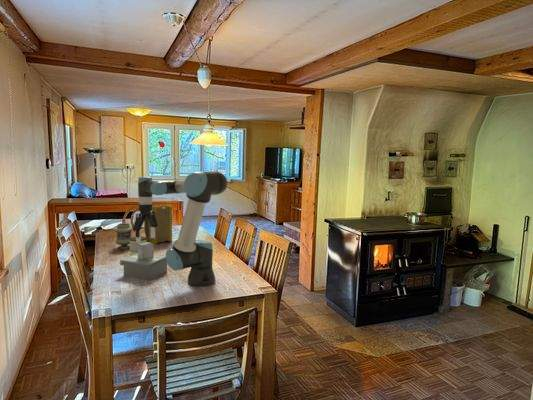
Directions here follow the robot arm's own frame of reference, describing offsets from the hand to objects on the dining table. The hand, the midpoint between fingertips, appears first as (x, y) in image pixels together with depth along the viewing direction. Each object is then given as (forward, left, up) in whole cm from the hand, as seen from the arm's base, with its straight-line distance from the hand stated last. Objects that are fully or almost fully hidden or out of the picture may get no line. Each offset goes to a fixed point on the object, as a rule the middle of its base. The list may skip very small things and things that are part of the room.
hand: (145, 240), depth 206 cm
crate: (0, 0, -20) cm, 20 cm away
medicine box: (0, 0, -11) cm, 11 cm away
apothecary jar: (+50, -44, -20) cm, 70 cm away
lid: (+2, 0, -14) cm, 14 cm away
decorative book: (+38, -70, -20) cm, 82 cm away
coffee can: (+24, -25, -20) cm, 40 cm away
